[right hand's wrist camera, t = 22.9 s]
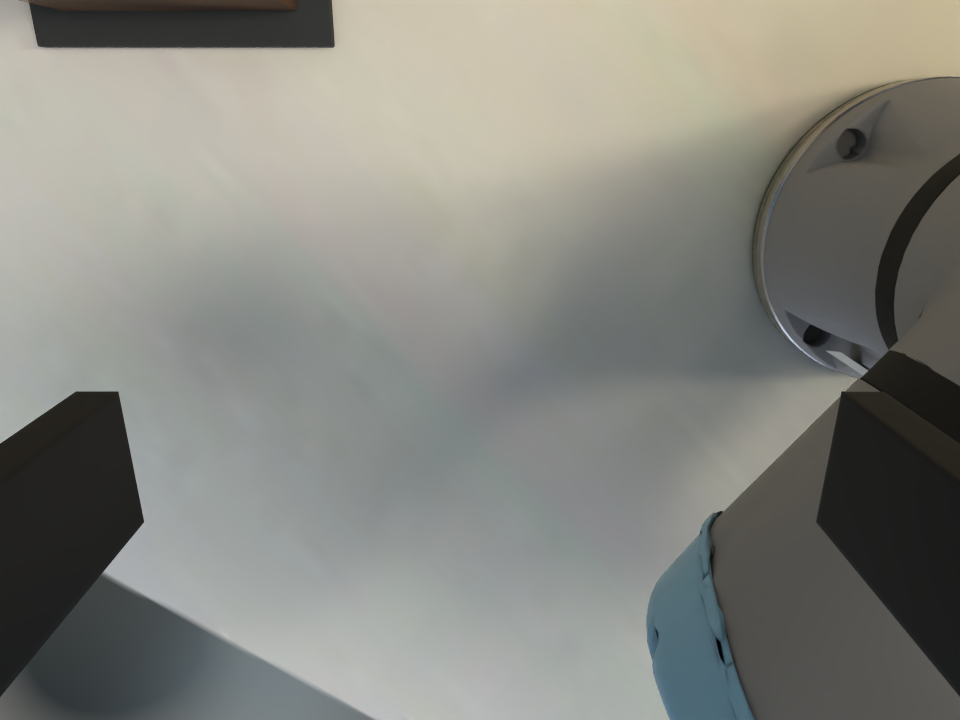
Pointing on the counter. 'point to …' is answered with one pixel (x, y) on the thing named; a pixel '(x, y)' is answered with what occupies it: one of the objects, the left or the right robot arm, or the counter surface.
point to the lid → (168, 5)
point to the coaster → (186, 27)
